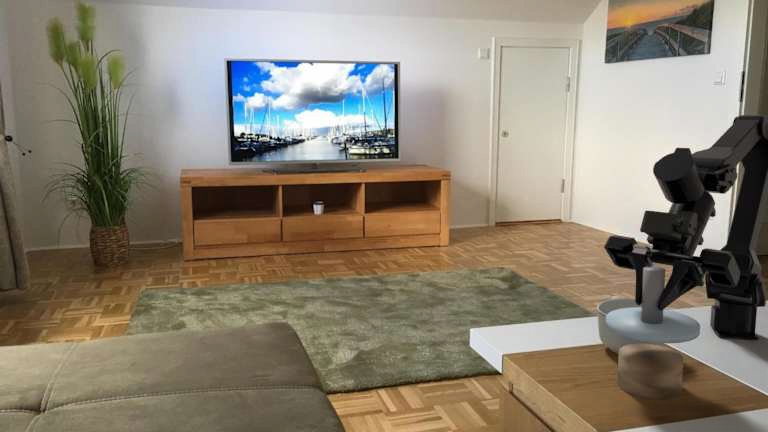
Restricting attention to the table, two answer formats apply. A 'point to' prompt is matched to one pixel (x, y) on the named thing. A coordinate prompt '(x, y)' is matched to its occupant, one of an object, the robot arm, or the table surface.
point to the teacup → (608, 336)
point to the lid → (652, 316)
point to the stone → (650, 371)
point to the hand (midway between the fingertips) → (648, 306)
